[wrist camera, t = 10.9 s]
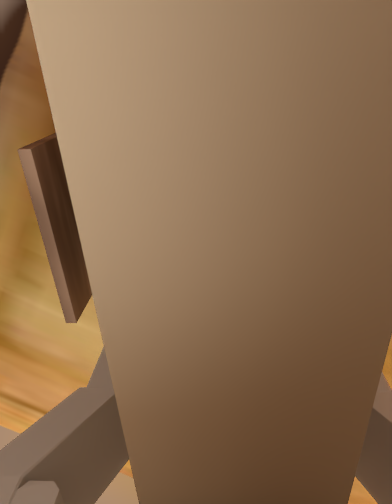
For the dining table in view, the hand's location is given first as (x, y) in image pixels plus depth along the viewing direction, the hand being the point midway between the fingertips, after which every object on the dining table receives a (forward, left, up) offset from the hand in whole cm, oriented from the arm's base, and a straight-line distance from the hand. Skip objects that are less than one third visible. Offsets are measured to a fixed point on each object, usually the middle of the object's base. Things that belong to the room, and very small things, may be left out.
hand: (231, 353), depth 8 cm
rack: (+12, +7, -28) cm, 32 cm away
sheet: (0, 0, -14) cm, 14 cm away
